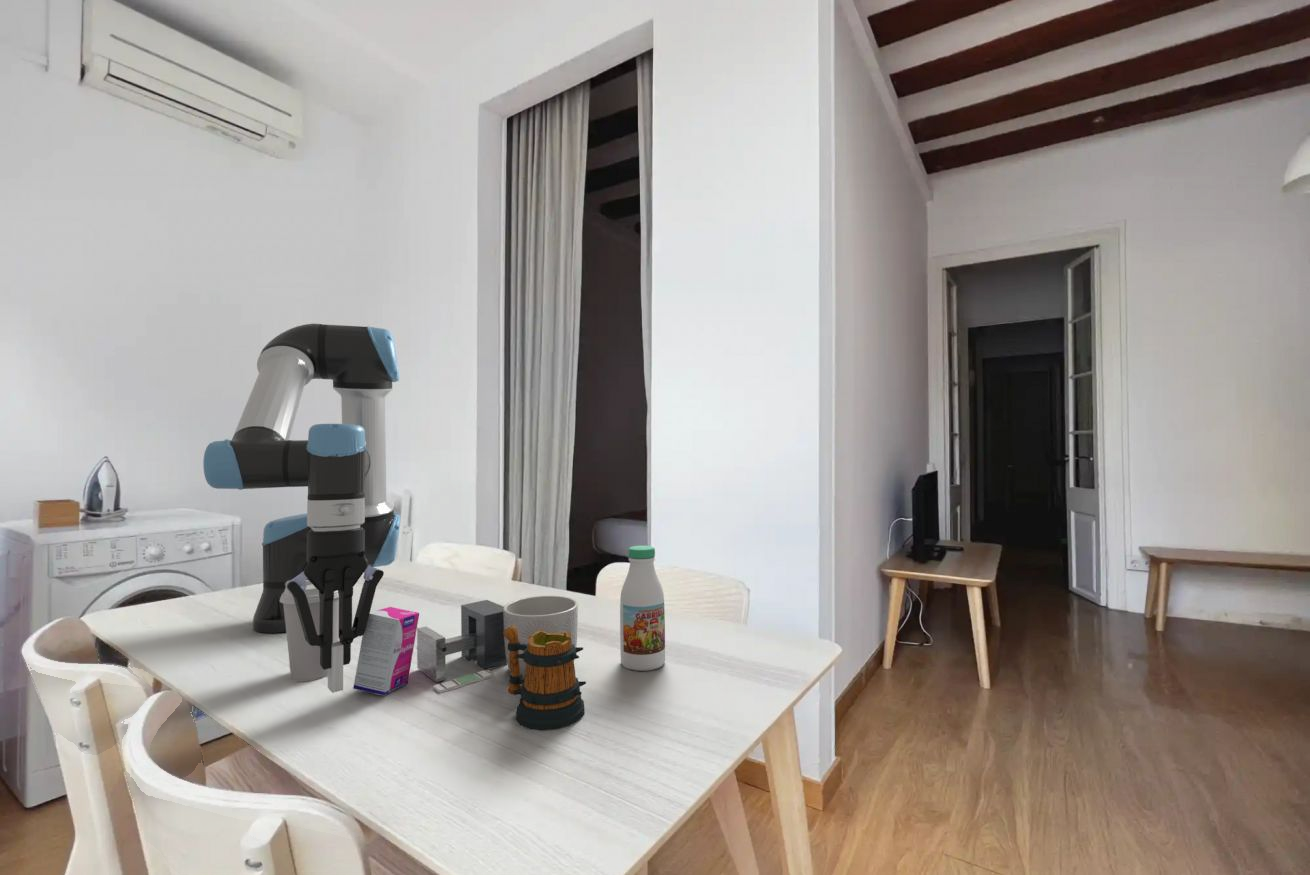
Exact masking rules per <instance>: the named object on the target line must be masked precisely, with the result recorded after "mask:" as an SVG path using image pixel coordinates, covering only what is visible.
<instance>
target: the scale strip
mask: <svg viewBox="0 0 1310 875" xmlns="http://www.w3.org/2000/svg"><path fill="white" fill-rule="evenodd" d="M493 677H495V674H494V673H493V672H492V671H490V669H489V670H481V671H478V672H475V673H470V674H467V675H463V676H461V677H460V676H459V677H457V678H455V679H451V680H448V681H445V682H441V683H439V684H435V685H433V688H432V689H433V690H435V691H437V693H439V694H441V693H442V694H443V692H447V691H452V690H454V689H458V688H461V687H463V686H467V685H470V684H473V683H476V682H480V681H482V680H486V679H489V678H493ZM457 687H458V688H457Z"/></svg>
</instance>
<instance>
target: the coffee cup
mask: <svg viewBox="0 0 1310 875" xmlns="http://www.w3.org/2000/svg"><path fill="white" fill-rule="evenodd" d="M306 585H307V587H306V589H305V590H304V593H305V594H306V597H307V600H308V604H309V607H310V611H311V614H312V618H313V621H314V625H315V629H316V632H317V635H319V623H320V598H319V590H317V589H316V588H315V586H314V585H313V584H312V583H311V582H310V581H309V580H306ZM280 602H281V603H283V606H284V615H285V624H286V632H285V633H286V642H287V652H288V661H289V671H290V679H291V680H293V681H295V682H310V681H315V680H320V679H324V678H326V677H328V669H325V670H324V669H323V668H322V667H321V665H320V646H311V645H310V644H309V643H308V642H307V641H306V640H305V636H304V633H303V629H302V626H301V622H300V619H299V615H298V612H297V608H296V605H295V601H294V598H293V595H292V594H291V593H290V591H289V590H288V589H287V588H285V591H284V593H282V596H281V597H280ZM336 641H339V594H338V590H337V591H335V592H334V599H333V642H336Z"/></svg>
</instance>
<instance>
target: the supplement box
mask: <svg viewBox="0 0 1310 875" xmlns="http://www.w3.org/2000/svg"><path fill="white" fill-rule="evenodd" d="M419 617H420V612H417V611H412V610H409V609H408V610H407V609H401V608H399V607H398V608H397V607H393V606H388V607H385V608H381V609H378V610H374V611H370V614H369V618H368V622H367V625H366V629H365V633H364V634H363V635H362V636H361V644H360V648H359V653H358V660H357V666H356V670H355V676H354V682H353V687H352V689H353V690H356V691H361V692H366V693H371V694H373V695H374V694H375V695H378V696H379V695H380V696H386V695H388V694H390V693H391V692H393V691H395V690H397V689H399V688H401V687H403V686H405V685H407V684H408V683H409V678H410V672H411V665H412V659H413V653H414V647H415V640H416V637H417V628H418V624H419Z"/></svg>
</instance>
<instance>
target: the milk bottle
mask: <svg viewBox="0 0 1310 875" xmlns="http://www.w3.org/2000/svg"><path fill="white" fill-rule="evenodd" d="M655 549H656V548H655V547H654V546H651V545H634V546H633V545H632V546H629V548H628V549H627V551H628V552H627V553H628V560H627V561H629V566H628V567H629V568H628V572H627V574H626V577H625V580H624V582H623V585H622V587H621V590H620V591H621V592H620V601H619V602H620V604H619V608H620V609H619V614H620V615H619V616H620V617H619V618H620V619H619V622H620V623H619V625H620V626H619V627H620V628H619V631H620V632H619V633H620V634H619V636H620V639H619V640H620V643H619V644H620V662H621V665H622V666H623V667H624V668H625V669H628V670H631V671H636V672H639V671H640V672H643V671H653V670H657V669H659V668H661V667H662V666H664V664H665V663H666V662H665V661H666V621H665V619H666V618H665V617H666V616H665V614H666V612H665V595H664V590H663V586H662V583H661V581H660V579H659V577H658V574H657V571H656V568H655V563H654V561H656V557H655V556H656V550H655Z"/></svg>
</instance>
